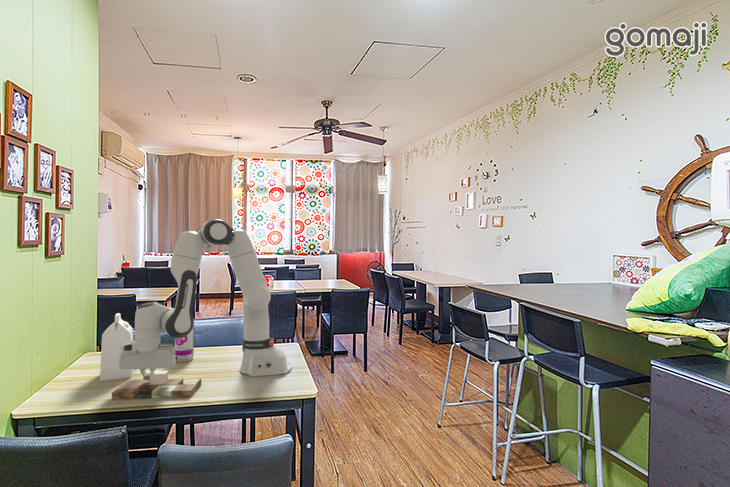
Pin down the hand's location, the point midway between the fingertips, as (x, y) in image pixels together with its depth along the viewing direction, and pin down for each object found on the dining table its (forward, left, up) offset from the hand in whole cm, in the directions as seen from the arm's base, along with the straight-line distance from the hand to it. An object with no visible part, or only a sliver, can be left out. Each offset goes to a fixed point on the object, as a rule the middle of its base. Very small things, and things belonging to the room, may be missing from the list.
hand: (147, 379), depth 164 cm
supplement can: (-1, -38, -4) cm, 38 cm away
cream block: (-4, 0, -1) cm, 5 cm away
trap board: (-5, +3, -4) cm, 7 cm away
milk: (+20, -18, -4) cm, 27 cm away
